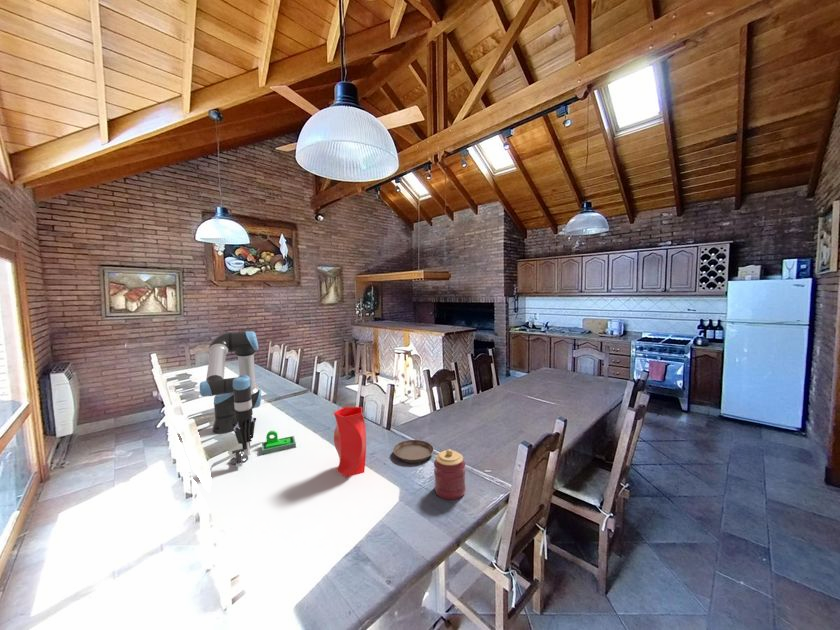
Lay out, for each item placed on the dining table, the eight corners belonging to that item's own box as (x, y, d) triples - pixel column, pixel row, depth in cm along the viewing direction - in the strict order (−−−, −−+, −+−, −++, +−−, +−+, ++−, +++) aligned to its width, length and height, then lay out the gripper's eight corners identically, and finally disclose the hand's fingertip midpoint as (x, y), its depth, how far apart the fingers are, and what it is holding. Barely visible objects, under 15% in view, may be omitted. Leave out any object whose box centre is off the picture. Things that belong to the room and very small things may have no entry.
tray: (262, 446, 179) (261, 442, 179) (293, 439, 187) (293, 435, 187) (262, 454, 170) (262, 450, 170) (296, 447, 177) (295, 443, 177)
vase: (372, 464, 157) (370, 407, 156) (357, 480, 144) (354, 419, 142) (345, 459, 162) (343, 405, 161) (328, 475, 149) (325, 415, 147)
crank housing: (230, 459, 166) (230, 456, 166) (248, 455, 170) (248, 453, 170) (229, 466, 159) (229, 463, 159) (247, 462, 163) (247, 459, 163)
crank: (233, 457, 165) (232, 442, 164) (244, 454, 167) (243, 440, 167) (233, 468, 154) (232, 452, 154) (245, 465, 157) (244, 449, 156)
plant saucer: (439, 449, 171) (439, 443, 170) (423, 469, 152) (423, 462, 152) (405, 442, 180) (405, 437, 179) (385, 460, 161) (385, 454, 161)
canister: (457, 504, 126) (456, 460, 124) (428, 494, 133) (427, 452, 131) (470, 486, 137) (470, 446, 135) (443, 478, 144) (442, 439, 142)
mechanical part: (266, 450, 174) (265, 435, 173) (267, 445, 179) (266, 431, 179) (290, 446, 178) (289, 431, 177) (290, 441, 184) (289, 427, 183)
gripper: (247, 403, 165) (250, 447, 167) (226, 413, 153) (230, 460, 155) (259, 404, 163) (262, 449, 165) (239, 414, 151) (243, 462, 153)
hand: (246, 454), depth 160 cm, fingers closed
